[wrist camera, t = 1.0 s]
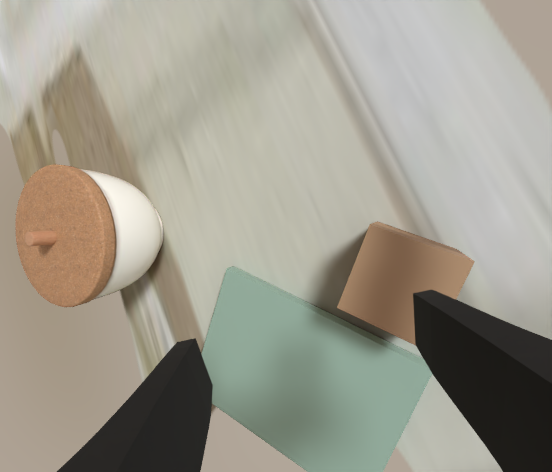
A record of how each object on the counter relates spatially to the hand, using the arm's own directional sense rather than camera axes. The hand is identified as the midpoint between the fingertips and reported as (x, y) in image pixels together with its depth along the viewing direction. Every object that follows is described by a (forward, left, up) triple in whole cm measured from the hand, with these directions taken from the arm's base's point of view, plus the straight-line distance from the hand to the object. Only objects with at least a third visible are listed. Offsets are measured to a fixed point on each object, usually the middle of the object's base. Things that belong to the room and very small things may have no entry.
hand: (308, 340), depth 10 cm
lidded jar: (+21, +5, -12) cm, 25 cm away
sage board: (+2, +10, -12) cm, 16 cm away
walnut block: (-2, -1, -12) cm, 12 cm away
